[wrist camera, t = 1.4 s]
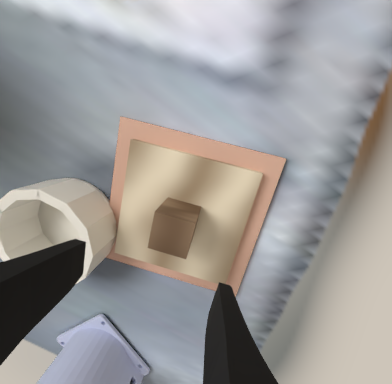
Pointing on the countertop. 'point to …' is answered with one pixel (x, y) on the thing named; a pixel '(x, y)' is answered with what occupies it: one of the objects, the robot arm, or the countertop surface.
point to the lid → (184, 210)
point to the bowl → (57, 220)
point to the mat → (209, 149)
